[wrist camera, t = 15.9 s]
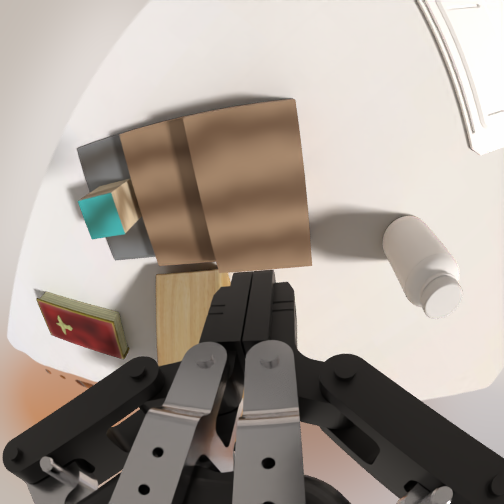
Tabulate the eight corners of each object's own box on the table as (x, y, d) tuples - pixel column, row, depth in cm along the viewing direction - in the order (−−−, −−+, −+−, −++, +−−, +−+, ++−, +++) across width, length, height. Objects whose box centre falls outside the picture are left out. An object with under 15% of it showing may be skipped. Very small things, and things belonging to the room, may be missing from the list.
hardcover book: (130, 347, 61) (123, 361, 58) (59, 325, 62) (51, 336, 58) (121, 309, 55) (112, 323, 51) (45, 288, 55) (35, 299, 52)
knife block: (216, 389, 65) (190, 510, 38) (160, 264, 48) (70, 432, 21) (263, 388, 63) (249, 517, 36) (226, 257, 46) (166, 456, 19)
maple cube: (110, 193, 35) (130, 178, 40) (77, 201, 36) (99, 186, 41) (124, 234, 38) (142, 215, 43) (91, 239, 38) (111, 221, 44)
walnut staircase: (79, 147, 38) (53, 159, 32) (293, 98, 33) (295, 99, 27) (116, 258, 48) (98, 280, 42) (308, 240, 43) (312, 265, 37)
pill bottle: (394, 269, 44) (425, 337, 31) (372, 232, 41) (404, 298, 28) (434, 243, 41) (477, 304, 28) (415, 204, 38) (464, 259, 25)
